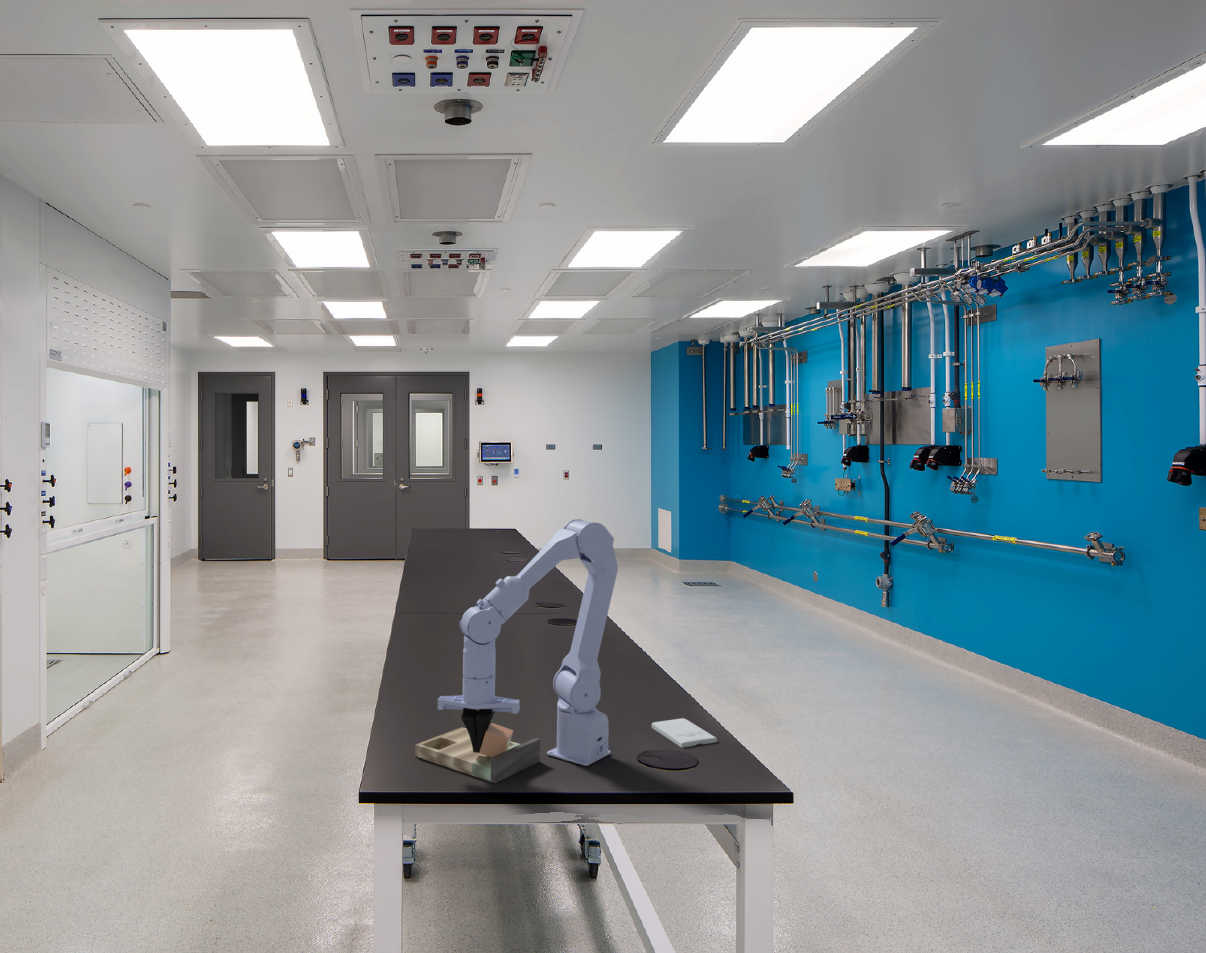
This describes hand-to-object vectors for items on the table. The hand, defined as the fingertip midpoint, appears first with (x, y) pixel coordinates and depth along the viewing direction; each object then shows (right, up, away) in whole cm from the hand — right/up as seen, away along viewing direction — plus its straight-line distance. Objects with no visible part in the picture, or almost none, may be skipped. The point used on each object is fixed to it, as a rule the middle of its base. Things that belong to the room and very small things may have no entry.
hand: (478, 750), depth 139 cm
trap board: (-1, -3, +4) cm, 6 cm away
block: (+3, -1, 0) cm, 3 cm away
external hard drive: (+39, -4, +19) cm, 44 cm away
